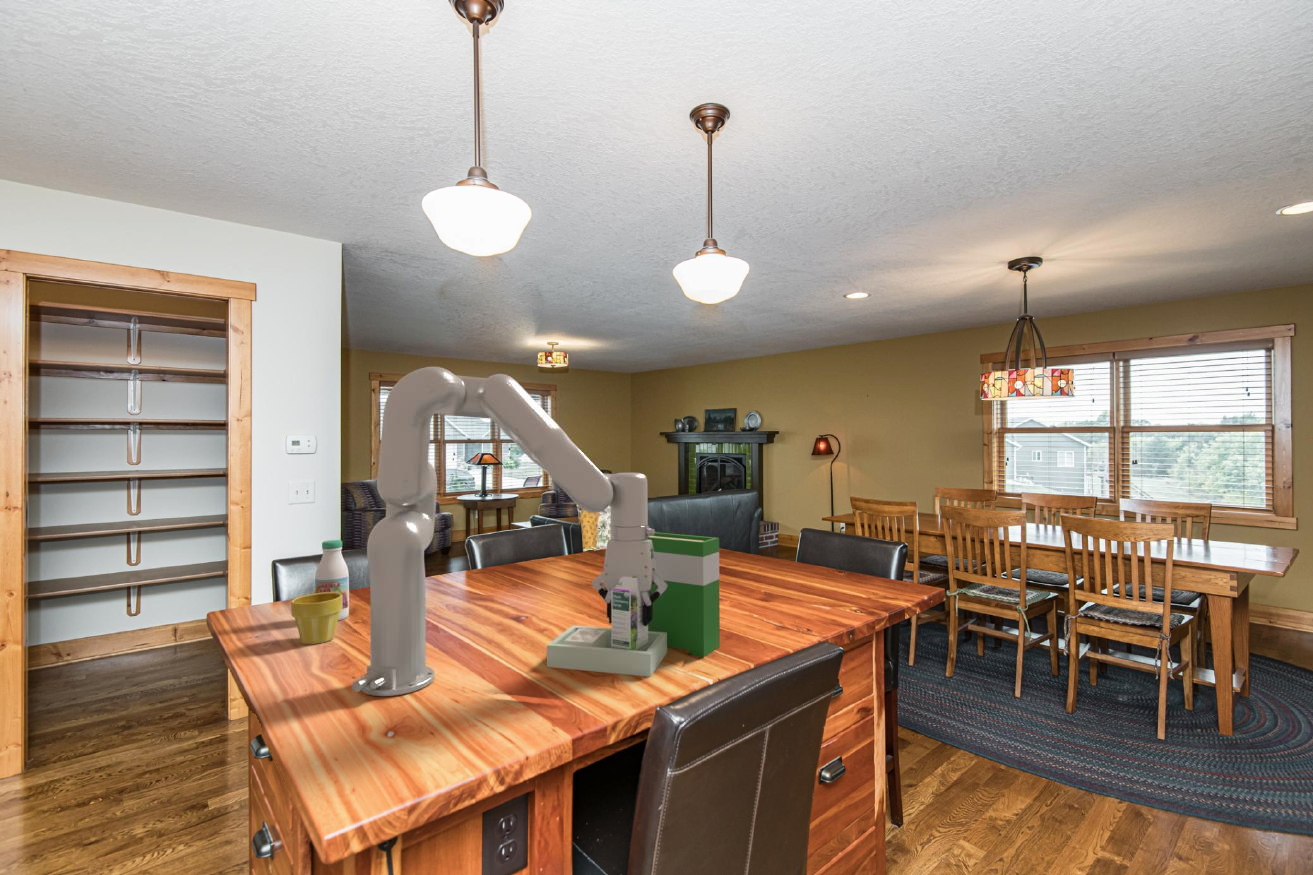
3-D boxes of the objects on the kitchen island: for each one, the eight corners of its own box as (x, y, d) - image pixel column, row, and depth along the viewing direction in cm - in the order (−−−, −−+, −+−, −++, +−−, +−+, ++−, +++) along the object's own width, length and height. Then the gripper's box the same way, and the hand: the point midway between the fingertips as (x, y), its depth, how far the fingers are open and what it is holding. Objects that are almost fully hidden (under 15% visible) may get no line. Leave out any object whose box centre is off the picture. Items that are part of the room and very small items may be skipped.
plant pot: (279, 645, 133) (279, 601, 133) (318, 631, 143) (318, 590, 143) (315, 649, 130) (316, 604, 130) (353, 635, 140) (353, 593, 140)
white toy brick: (592, 665, 117) (592, 639, 117) (564, 662, 119) (564, 636, 119) (606, 651, 125) (605, 627, 125) (579, 649, 126) (579, 625, 127)
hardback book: (634, 643, 133) (633, 536, 133) (652, 634, 139) (651, 532, 140) (703, 657, 124) (703, 542, 124) (719, 647, 130) (719, 537, 130)
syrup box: (610, 647, 118) (609, 574, 119) (625, 638, 124) (624, 568, 124) (635, 651, 116) (634, 577, 116) (649, 642, 121) (649, 571, 121)
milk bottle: (316, 616, 155) (316, 540, 155) (349, 612, 158) (349, 538, 159) (313, 624, 148) (313, 544, 148) (348, 620, 151) (348, 542, 152)
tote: (650, 680, 112) (650, 654, 112) (546, 670, 117) (546, 645, 117) (667, 656, 124) (666, 632, 124) (572, 648, 130) (572, 625, 130)
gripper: (675, 532, 121) (675, 620, 121) (595, 530, 126) (595, 614, 125) (666, 538, 114) (667, 631, 114) (582, 535, 118) (582, 625, 118)
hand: (629, 621), depth 120 cm, fingers closed on syrup box, 6 cm apart
